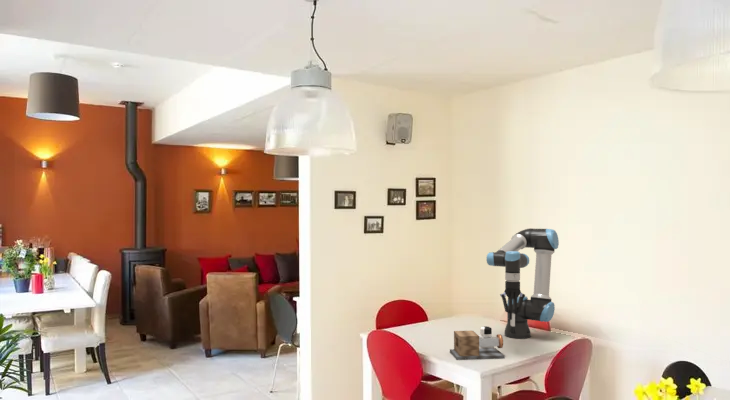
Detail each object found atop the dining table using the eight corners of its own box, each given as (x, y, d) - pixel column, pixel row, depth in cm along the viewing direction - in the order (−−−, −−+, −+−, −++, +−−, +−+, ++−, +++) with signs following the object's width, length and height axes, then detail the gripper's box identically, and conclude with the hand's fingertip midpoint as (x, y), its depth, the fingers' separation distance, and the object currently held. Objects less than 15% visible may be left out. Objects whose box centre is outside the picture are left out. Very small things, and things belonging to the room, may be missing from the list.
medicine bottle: (490, 347, 299) (490, 325, 299) (494, 350, 292) (494, 328, 292) (477, 347, 299) (477, 325, 299) (481, 351, 292) (481, 328, 292)
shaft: (498, 346, 288) (498, 332, 288) (503, 349, 281) (503, 336, 281) (466, 347, 287) (466, 333, 287) (470, 350, 280) (470, 337, 280)
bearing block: (495, 350, 292) (495, 329, 292) (504, 358, 278) (504, 335, 278) (449, 352, 289) (449, 330, 289) (456, 359, 275) (456, 337, 275)
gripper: (503, 281, 281) (503, 327, 281) (527, 281, 282) (527, 327, 282) (498, 279, 289) (498, 324, 288) (521, 279, 290) (521, 324, 289)
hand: (512, 325), depth 285 cm, fingers closed
